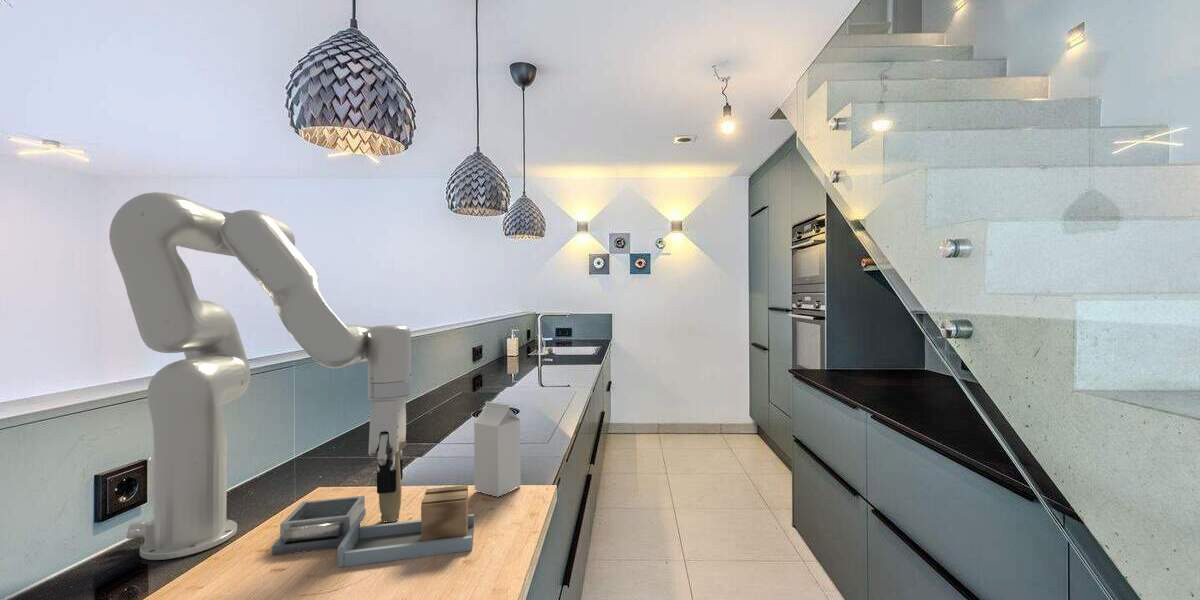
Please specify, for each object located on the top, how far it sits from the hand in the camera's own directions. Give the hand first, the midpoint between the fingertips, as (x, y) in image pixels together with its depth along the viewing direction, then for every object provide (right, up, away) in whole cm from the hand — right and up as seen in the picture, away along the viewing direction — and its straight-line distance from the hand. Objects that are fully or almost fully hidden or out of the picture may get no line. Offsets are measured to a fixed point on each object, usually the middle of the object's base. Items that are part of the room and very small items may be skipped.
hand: (390, 485), depth 88 cm
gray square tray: (-9, -6, -6) cm, 13 cm away
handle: (0, -7, 0) cm, 7 cm away
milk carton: (+17, -7, +14) cm, 23 cm away
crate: (+13, -6, -8) cm, 17 cm away
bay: (+8, -6, -10) cm, 14 cm away
